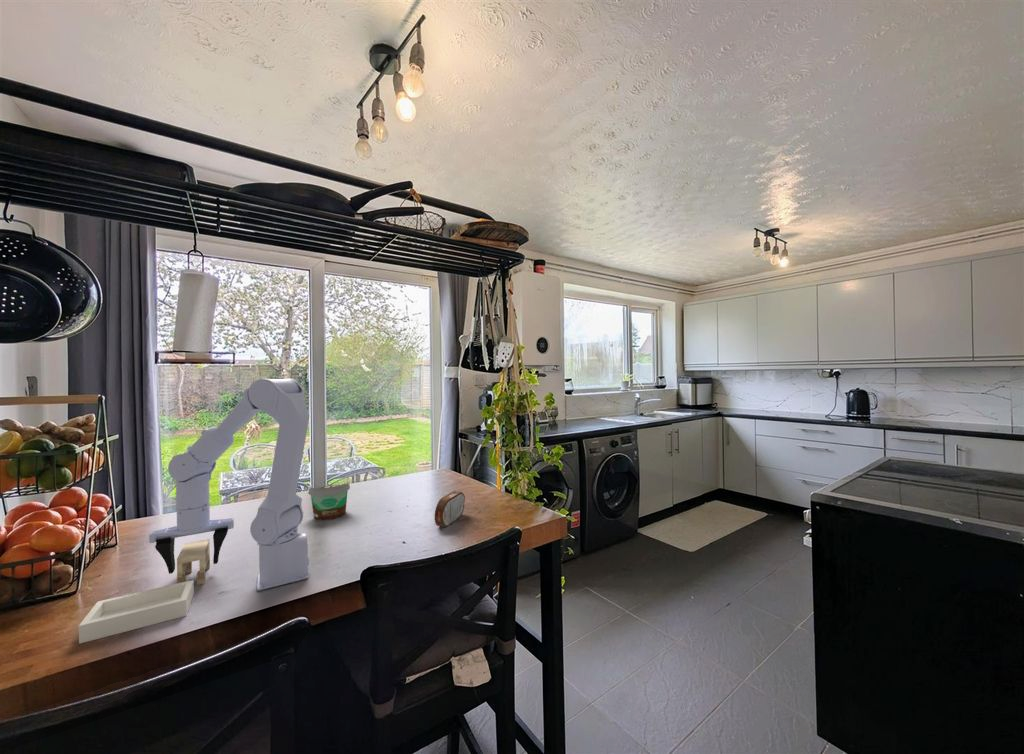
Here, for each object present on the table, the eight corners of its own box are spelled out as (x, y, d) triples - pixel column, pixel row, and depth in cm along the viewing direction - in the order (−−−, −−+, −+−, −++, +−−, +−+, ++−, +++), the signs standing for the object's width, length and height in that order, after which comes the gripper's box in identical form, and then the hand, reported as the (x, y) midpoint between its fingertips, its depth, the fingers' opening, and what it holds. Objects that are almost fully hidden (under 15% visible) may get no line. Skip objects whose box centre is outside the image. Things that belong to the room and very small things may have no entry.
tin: (457, 513, 126) (457, 487, 126) (466, 514, 125) (466, 487, 125) (433, 530, 112) (433, 501, 112) (443, 532, 111) (442, 502, 111)
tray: (193, 594, 80) (193, 579, 80) (186, 615, 73) (186, 599, 73) (97, 617, 73) (97, 601, 73) (79, 643, 66) (78, 625, 66)
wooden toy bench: (185, 571, 90) (184, 543, 90) (209, 566, 92) (209, 539, 92) (177, 589, 82) (176, 558, 82) (204, 583, 85) (203, 553, 84)
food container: (312, 524, 118) (311, 491, 118) (308, 518, 123) (308, 487, 123) (354, 515, 125) (354, 484, 125) (349, 510, 130) (349, 480, 130)
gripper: (234, 495, 94) (235, 551, 94) (154, 507, 87) (155, 568, 87) (232, 503, 88) (233, 563, 88) (146, 516, 81) (147, 582, 81)
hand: (194, 566), depth 87 cm, fingers open, 7 cm apart
